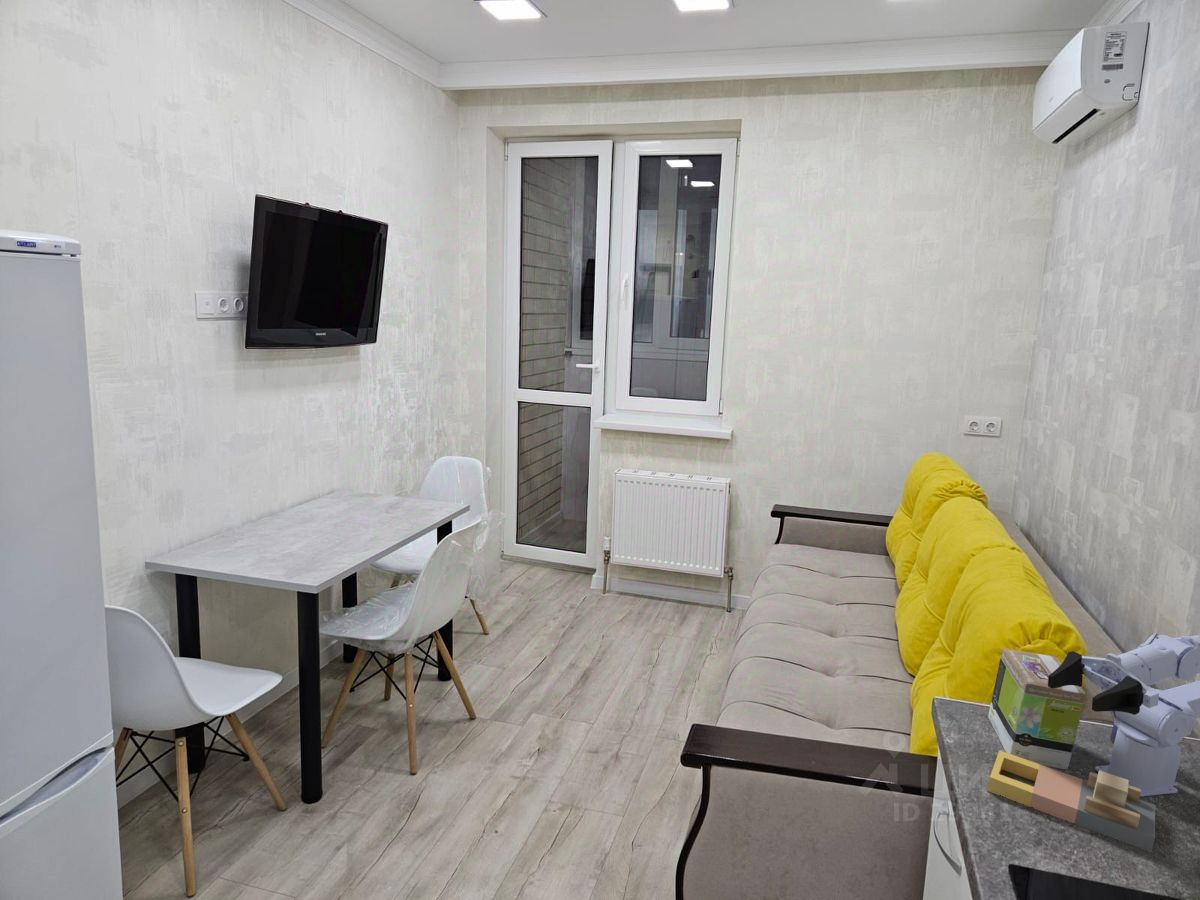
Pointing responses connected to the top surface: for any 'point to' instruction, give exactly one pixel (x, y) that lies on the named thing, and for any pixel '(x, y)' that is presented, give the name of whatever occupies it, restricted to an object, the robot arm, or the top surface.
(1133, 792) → the channel walls
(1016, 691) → the tea box
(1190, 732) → the robot arm
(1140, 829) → the board
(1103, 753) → the top surface
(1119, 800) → the birch block
